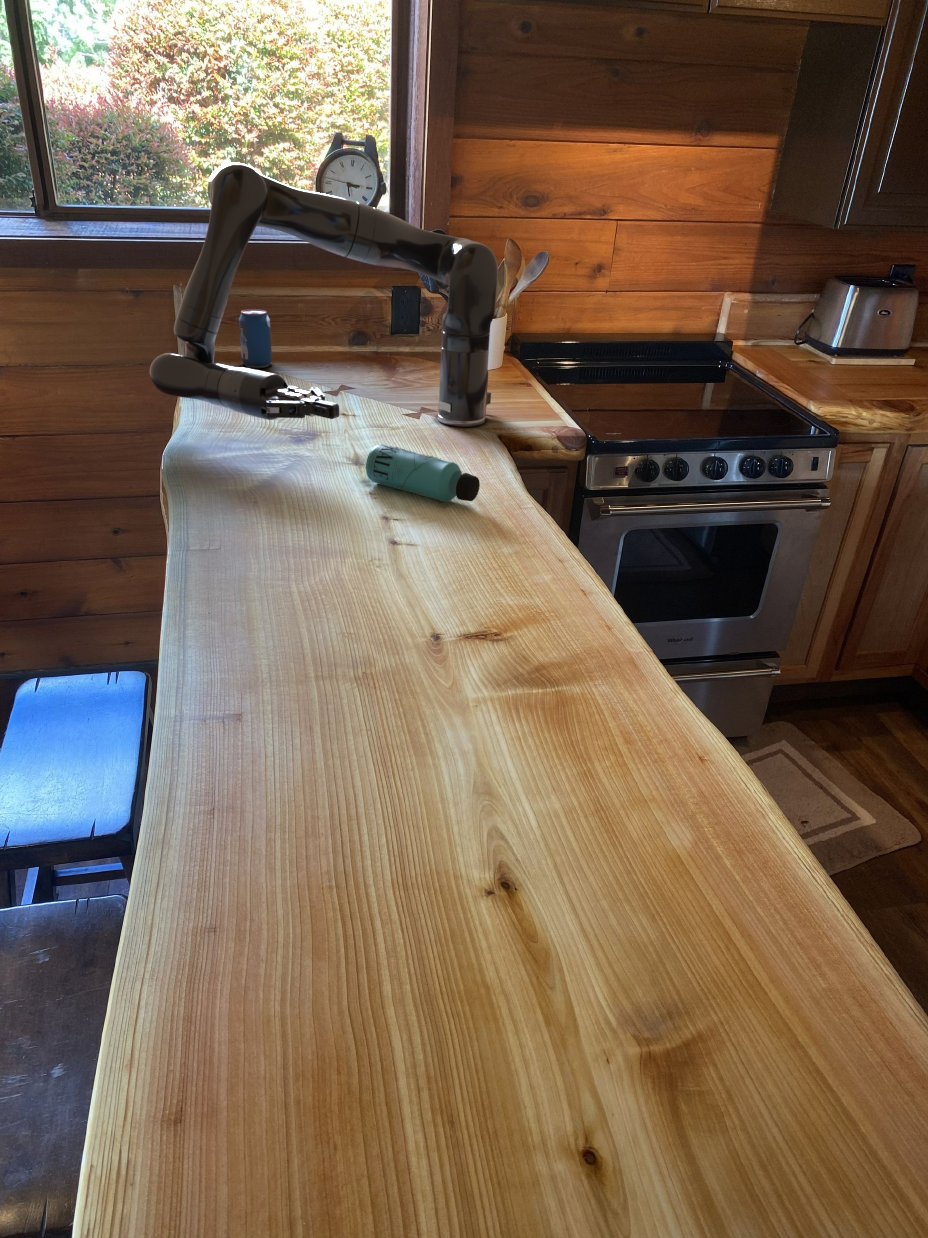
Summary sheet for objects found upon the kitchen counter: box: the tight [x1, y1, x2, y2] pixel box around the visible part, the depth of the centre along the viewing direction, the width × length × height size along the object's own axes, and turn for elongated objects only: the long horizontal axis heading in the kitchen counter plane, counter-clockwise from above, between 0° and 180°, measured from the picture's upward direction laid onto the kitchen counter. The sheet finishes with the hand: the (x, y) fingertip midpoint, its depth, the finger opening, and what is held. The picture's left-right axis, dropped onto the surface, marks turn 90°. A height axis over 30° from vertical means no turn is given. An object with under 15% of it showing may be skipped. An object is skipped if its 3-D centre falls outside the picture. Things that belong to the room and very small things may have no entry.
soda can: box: [238, 308, 273, 369], centre depth 207 cm, size 7×7×12 cm
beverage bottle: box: [365, 443, 481, 503], centre depth 141 cm, size 6×7×20 cm
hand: (336, 411), depth 143 cm, fingers closed
